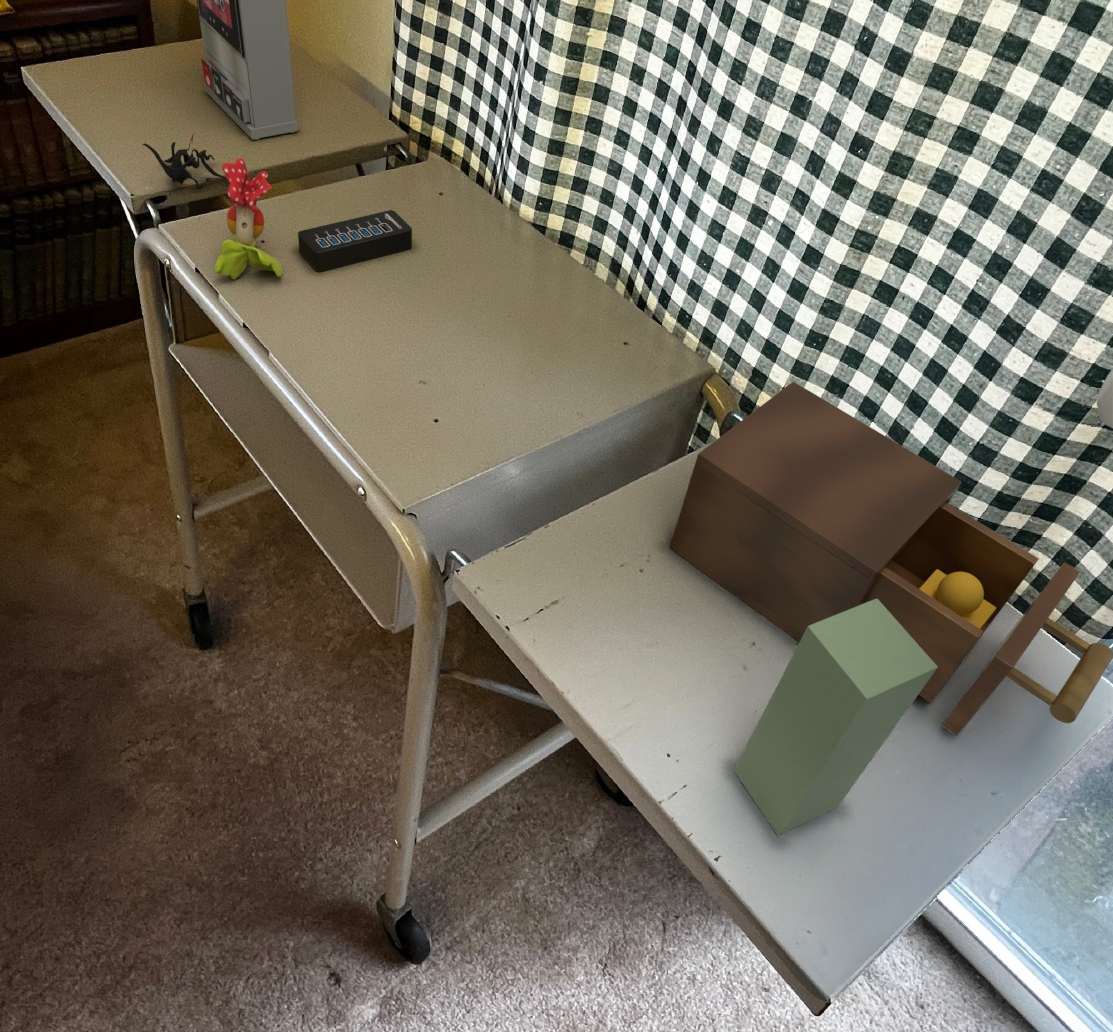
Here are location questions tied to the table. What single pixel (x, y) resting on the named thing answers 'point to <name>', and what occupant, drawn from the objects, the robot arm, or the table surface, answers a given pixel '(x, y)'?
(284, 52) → the cassette tape recorder
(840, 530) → the cabinet
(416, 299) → the table surface
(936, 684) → the drawer
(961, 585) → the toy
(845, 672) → the green rectangular block
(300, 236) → the multiport hub
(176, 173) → the creature
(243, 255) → the multicoloured upright piece
